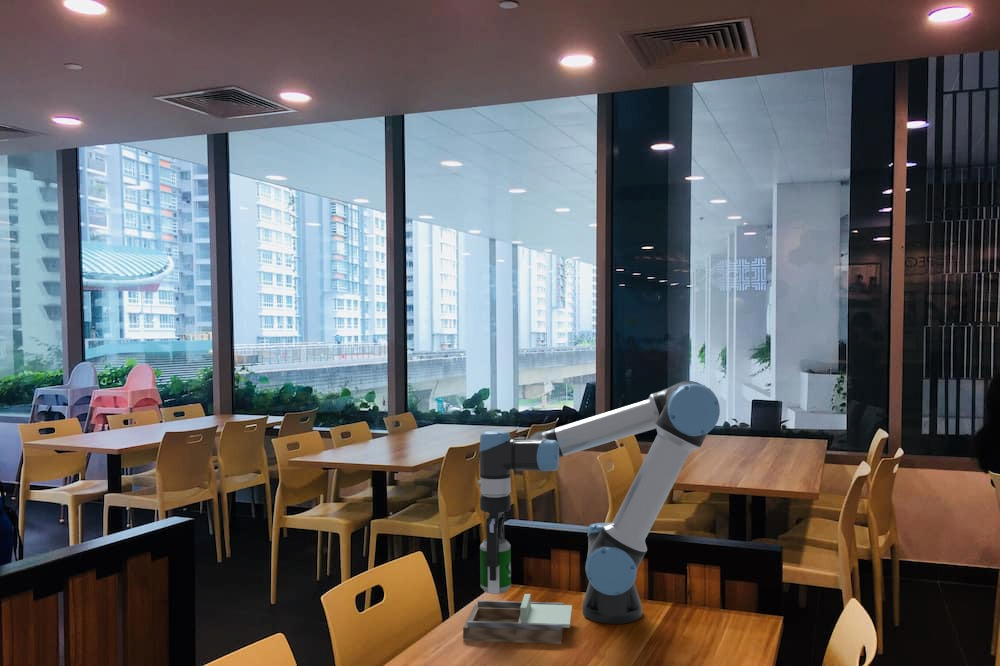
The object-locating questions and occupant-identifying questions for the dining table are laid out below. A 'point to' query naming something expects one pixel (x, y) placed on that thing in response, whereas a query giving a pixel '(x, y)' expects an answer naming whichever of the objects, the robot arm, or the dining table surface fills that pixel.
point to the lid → (545, 613)
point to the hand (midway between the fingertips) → (496, 587)
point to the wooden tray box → (508, 624)
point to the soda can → (503, 565)
